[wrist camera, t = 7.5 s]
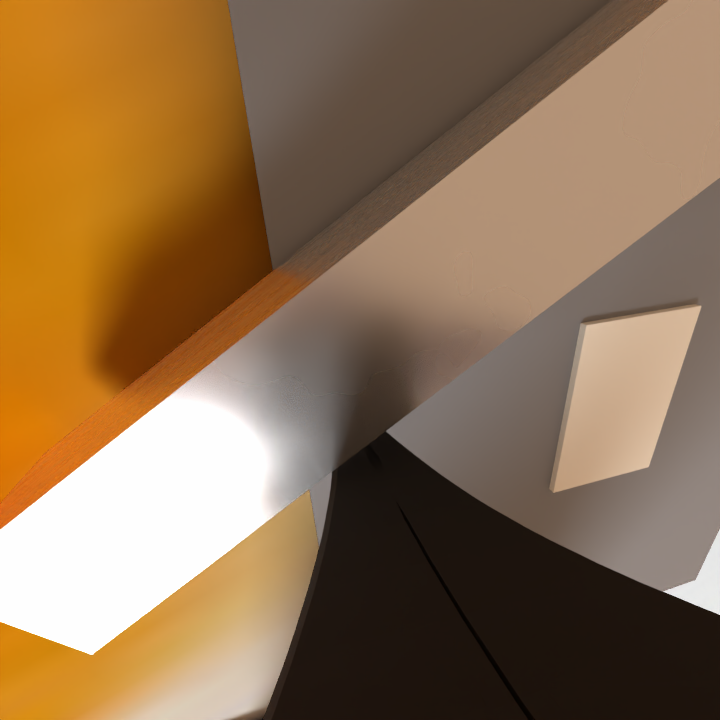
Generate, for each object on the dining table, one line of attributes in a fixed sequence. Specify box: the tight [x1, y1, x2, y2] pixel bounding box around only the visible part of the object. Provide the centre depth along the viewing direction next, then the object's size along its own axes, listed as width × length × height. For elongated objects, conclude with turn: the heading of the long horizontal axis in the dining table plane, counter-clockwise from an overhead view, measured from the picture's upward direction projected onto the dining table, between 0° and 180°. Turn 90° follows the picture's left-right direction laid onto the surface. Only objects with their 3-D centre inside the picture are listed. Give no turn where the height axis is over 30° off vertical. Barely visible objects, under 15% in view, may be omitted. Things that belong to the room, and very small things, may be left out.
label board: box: [228, 0, 720, 591], centre depth 12 cm, size 24×18×1 cm
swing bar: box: [0, 0, 720, 654], centre depth 6 cm, size 18×3×3 cm, turn 125°
